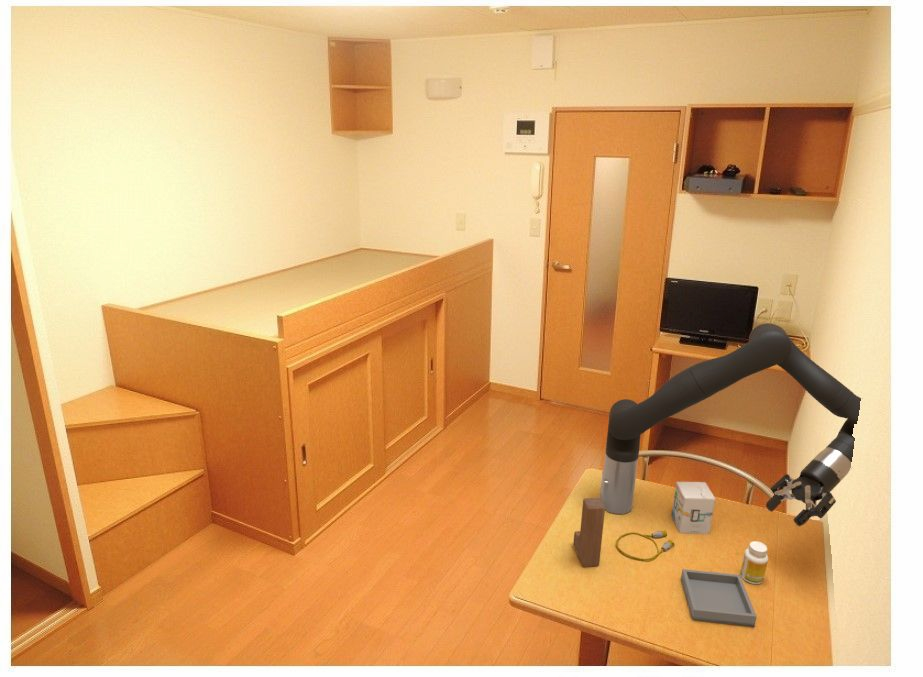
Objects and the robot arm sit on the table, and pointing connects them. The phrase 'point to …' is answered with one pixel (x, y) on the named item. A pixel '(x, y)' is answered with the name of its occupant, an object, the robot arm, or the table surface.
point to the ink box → (693, 507)
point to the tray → (717, 598)
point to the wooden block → (590, 532)
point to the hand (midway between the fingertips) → (782, 516)
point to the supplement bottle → (754, 563)
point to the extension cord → (654, 535)
